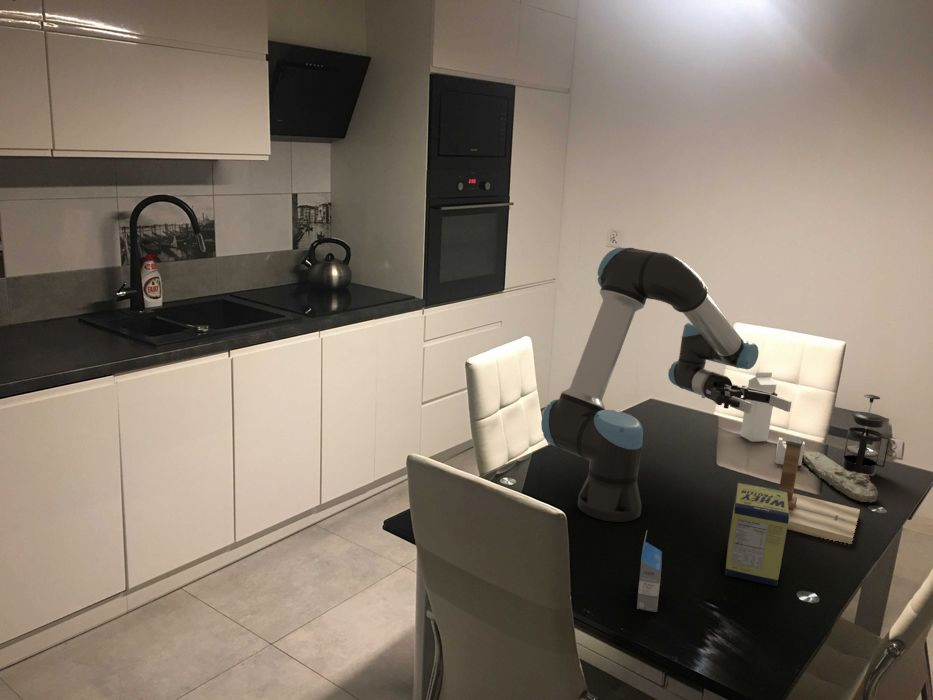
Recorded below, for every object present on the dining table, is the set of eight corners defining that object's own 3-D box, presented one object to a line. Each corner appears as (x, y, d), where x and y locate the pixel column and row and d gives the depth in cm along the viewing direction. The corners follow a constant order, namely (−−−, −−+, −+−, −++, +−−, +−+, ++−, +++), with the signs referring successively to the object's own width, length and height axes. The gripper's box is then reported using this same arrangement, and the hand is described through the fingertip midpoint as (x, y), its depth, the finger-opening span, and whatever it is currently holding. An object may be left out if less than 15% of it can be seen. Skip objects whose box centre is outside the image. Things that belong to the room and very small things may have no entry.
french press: (836, 471, 233) (850, 395, 228) (839, 462, 241) (853, 388, 236) (881, 481, 227) (896, 403, 222) (883, 471, 235) (897, 396, 230)
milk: (767, 441, 256) (778, 375, 251) (751, 441, 254) (762, 375, 249) (755, 435, 261) (766, 370, 256) (739, 435, 260) (750, 370, 255)
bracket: (800, 468, 233) (804, 444, 231) (774, 464, 236) (778, 439, 234) (800, 455, 245) (804, 432, 243) (776, 451, 247) (780, 428, 246)
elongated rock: (822, 464, 243) (791, 464, 242) (824, 447, 242) (792, 447, 241) (889, 505, 208) (852, 505, 208) (891, 486, 208) (854, 486, 207)
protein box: (776, 555, 176) (787, 489, 172) (777, 587, 161) (790, 516, 158) (727, 545, 179) (737, 480, 176) (724, 575, 165) (735, 505, 161)
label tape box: (656, 613, 148) (665, 552, 146) (634, 608, 150) (642, 548, 147) (658, 590, 157) (666, 532, 154) (637, 586, 158) (645, 529, 155)
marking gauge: (792, 510, 196) (804, 445, 192) (771, 505, 198) (782, 440, 194) (795, 504, 200) (807, 440, 196) (775, 499, 202) (785, 435, 199)
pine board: (851, 545, 183) (852, 537, 183) (756, 520, 193) (757, 513, 193) (858, 516, 200) (860, 509, 200) (771, 495, 210) (772, 488, 210)
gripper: (744, 397, 228) (802, 419, 209) (675, 400, 217) (730, 423, 199) (748, 372, 227) (808, 392, 208) (679, 373, 216) (735, 394, 197)
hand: (770, 407), depth 203 cm, fingers open, 13 cm apart
